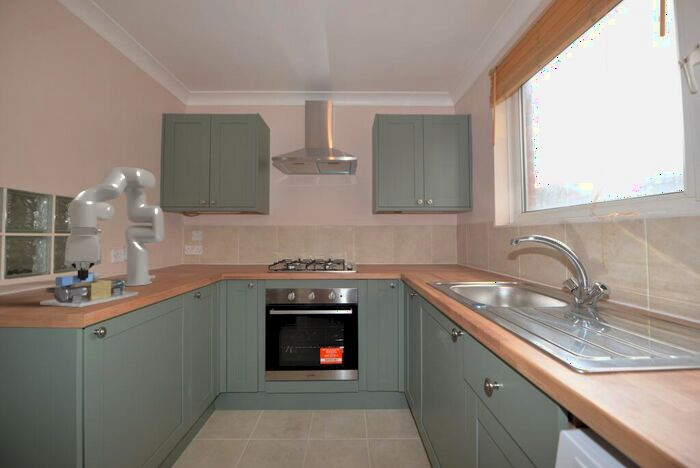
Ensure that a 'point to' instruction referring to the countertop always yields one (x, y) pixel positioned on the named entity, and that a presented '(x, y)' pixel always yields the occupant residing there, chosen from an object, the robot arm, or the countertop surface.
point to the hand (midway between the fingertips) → (82, 280)
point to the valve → (61, 286)
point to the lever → (76, 279)
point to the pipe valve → (89, 293)
